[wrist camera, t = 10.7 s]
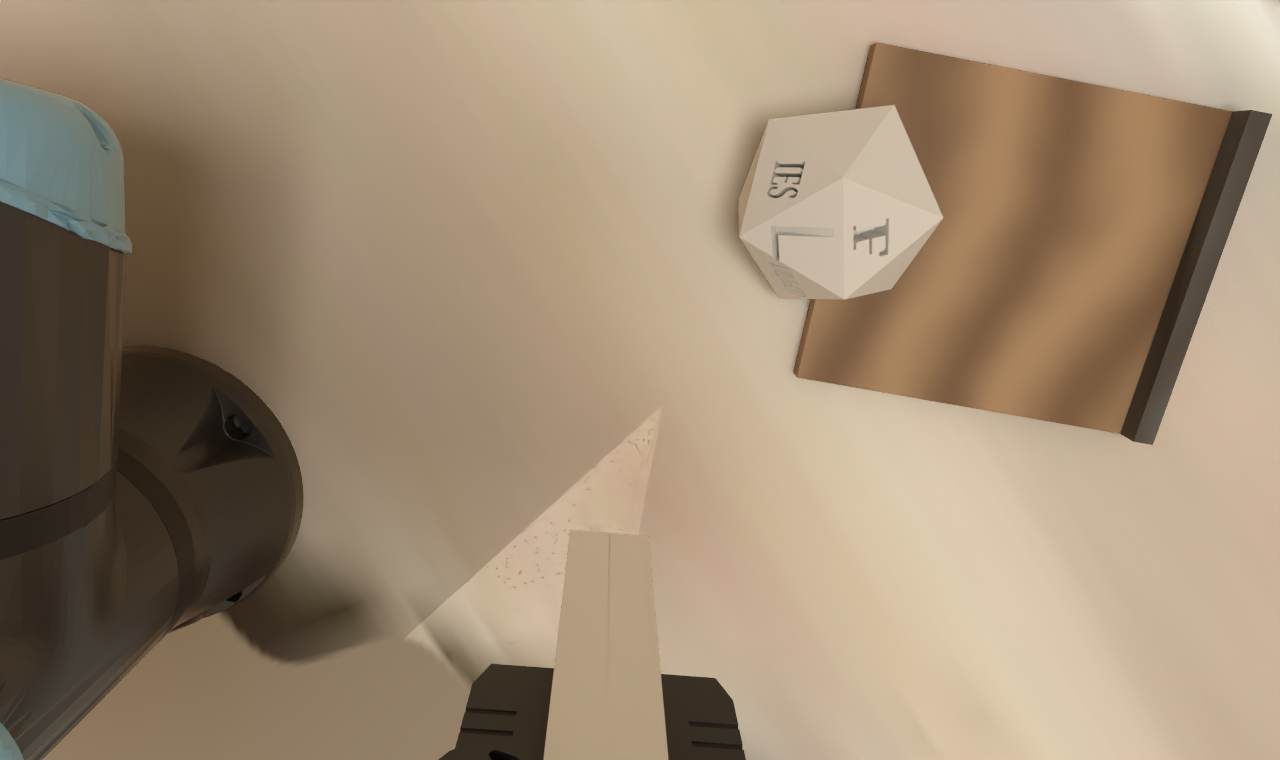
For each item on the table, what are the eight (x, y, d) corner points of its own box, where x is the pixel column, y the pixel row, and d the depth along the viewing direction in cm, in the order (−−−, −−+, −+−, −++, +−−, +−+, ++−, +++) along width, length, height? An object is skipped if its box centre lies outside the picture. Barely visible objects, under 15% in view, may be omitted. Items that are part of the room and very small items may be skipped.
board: (793, 372, 42) (801, 383, 40) (870, 45, 38) (884, 38, 36) (1127, 430, 43) (1152, 444, 41) (1237, 116, 39) (1272, 114, 37)
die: (676, 135, 35) (904, 144, 29) (778, 88, 41) (985, 88, 35) (696, 315, 39) (899, 354, 33) (786, 249, 45) (972, 272, 39)
